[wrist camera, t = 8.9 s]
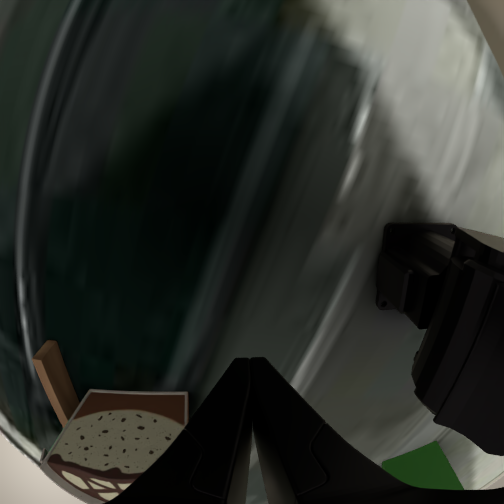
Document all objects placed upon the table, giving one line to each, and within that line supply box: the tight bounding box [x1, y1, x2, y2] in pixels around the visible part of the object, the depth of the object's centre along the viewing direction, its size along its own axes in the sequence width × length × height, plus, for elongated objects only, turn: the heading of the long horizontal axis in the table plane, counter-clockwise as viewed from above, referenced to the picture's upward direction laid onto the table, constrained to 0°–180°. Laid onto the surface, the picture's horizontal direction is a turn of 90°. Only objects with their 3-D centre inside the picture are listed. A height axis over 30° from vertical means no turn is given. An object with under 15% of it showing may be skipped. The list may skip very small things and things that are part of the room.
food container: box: [40, 389, 189, 504], centre depth 21 cm, size 12×6×10 cm, turn 94°
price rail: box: [32, 340, 80, 428], centre depth 24 cm, size 1×16×3 cm, turn 1°
